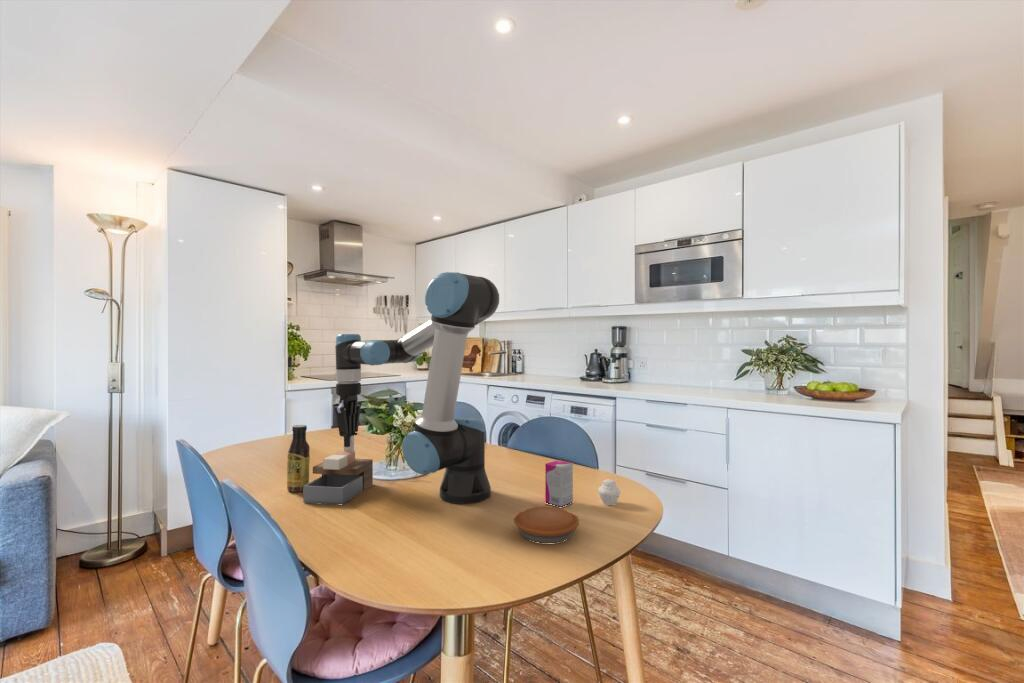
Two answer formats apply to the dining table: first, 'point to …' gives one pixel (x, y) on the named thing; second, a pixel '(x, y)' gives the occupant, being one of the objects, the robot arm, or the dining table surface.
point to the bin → (332, 489)
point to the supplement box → (559, 483)
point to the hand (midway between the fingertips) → (349, 456)
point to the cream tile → (335, 462)
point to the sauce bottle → (298, 460)
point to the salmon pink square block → (349, 455)
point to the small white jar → (609, 492)
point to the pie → (546, 524)
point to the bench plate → (351, 470)
